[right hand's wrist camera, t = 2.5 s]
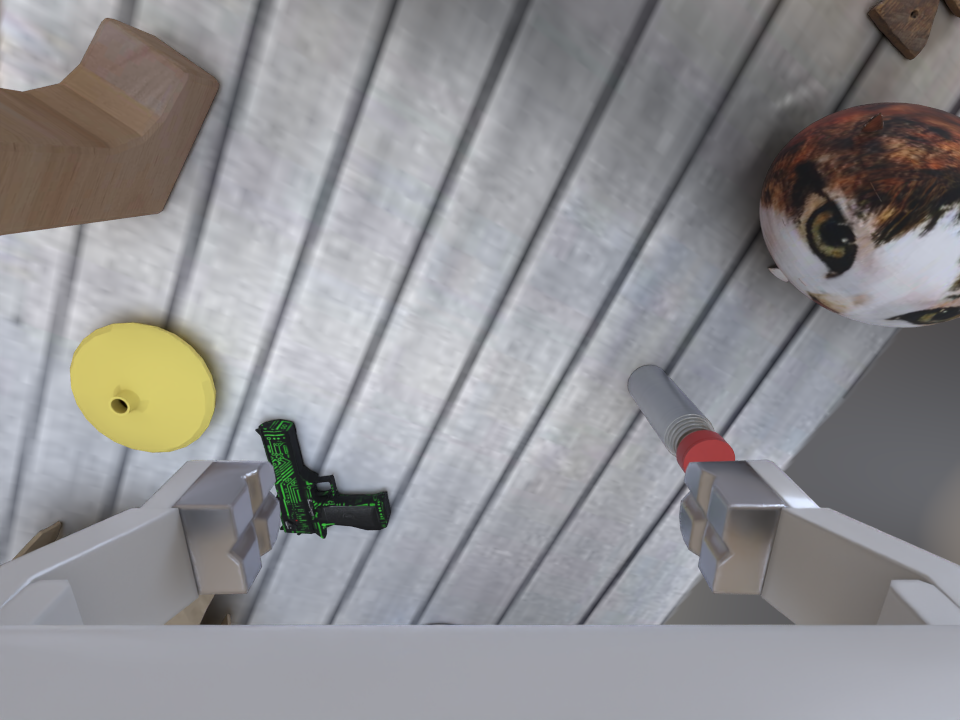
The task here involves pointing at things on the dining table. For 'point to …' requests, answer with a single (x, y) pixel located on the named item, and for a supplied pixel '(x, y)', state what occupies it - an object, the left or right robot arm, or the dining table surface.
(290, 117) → the dining table surface
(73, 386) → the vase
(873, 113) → the plush toy
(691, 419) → the bottle
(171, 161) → the decorative block
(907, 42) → the wooden paddle board
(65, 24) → the dining table surface
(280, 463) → the handgun
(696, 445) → the cap
